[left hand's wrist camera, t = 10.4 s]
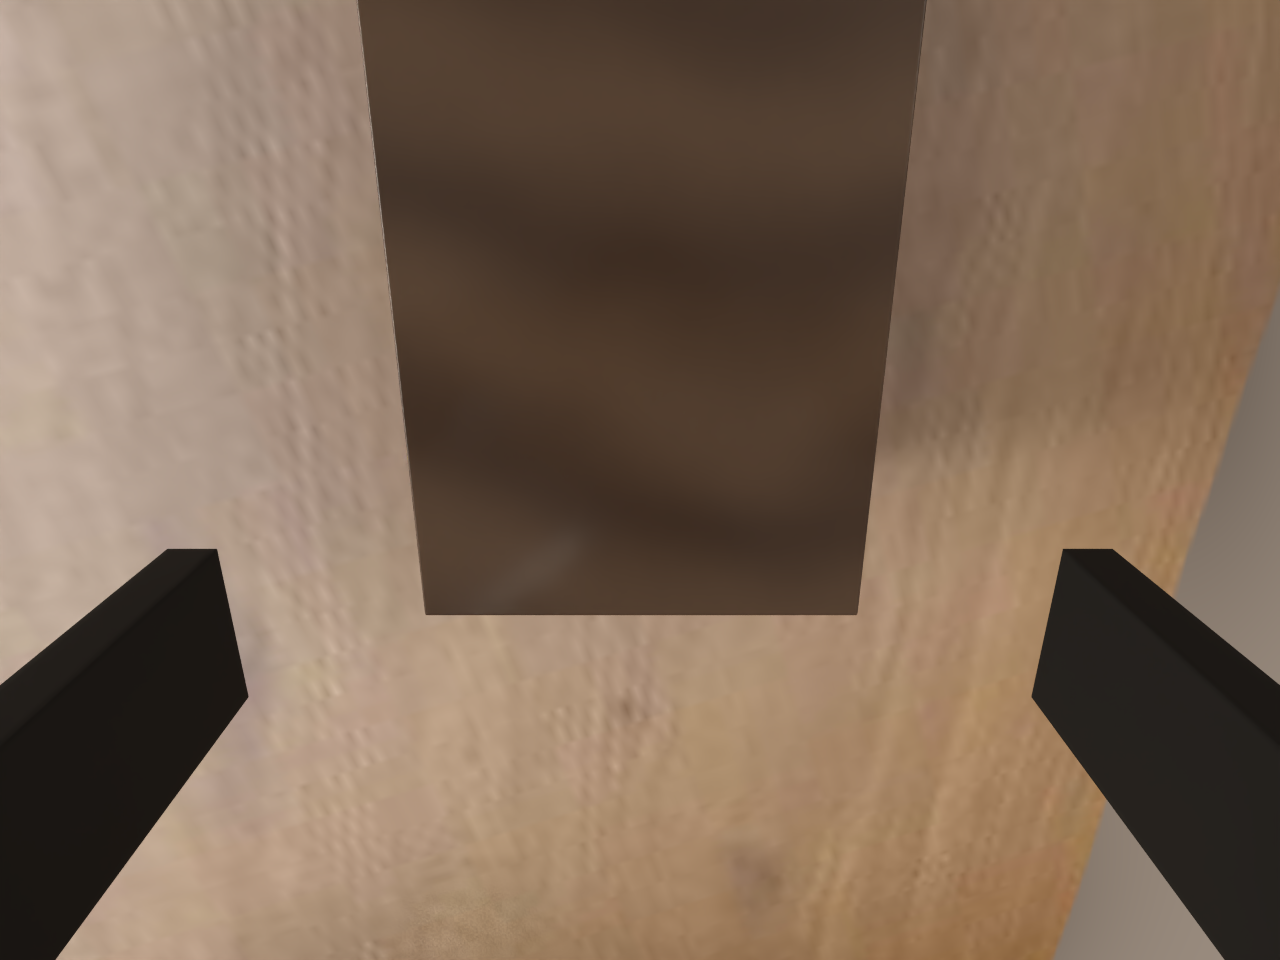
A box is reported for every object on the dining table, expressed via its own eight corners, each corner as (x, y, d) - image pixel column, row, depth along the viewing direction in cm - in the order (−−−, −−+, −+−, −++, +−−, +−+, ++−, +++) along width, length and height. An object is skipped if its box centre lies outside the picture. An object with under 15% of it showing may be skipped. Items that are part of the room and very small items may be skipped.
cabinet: (450, -146, 22) (314, -370, 13) (831, -145, 22) (969, -369, 13) (494, 470, 28) (424, 615, 19) (787, 470, 28) (857, 616, 19)
